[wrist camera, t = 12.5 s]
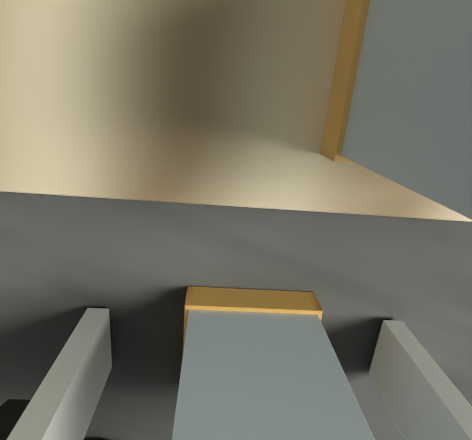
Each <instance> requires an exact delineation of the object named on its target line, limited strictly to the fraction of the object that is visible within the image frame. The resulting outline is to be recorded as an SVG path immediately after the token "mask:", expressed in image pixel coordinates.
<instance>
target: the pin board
mask: <svg viewBox="0 0 472 440" xmlns="http://www.w3.org/2000/svg"><path fill="white" fill-rule="evenodd" d="M345 2H346V0H0V191H6V192H22V193H37V194H53V195H68V196H84V197H99V198H115V199H130V200H146V201H161V202H177V203H192V204H208V205H224V206H239V207H255V208H270V209H286V210H301V211H317V212H332V213H348V214H363V215H379V216H394V217H410V218H425V219H441V220H456V221H472V220H471V219H469V218H467V217H465V216H463V215H461V214H459V213H457V212H455V211H453V210H451V209H449V208H447V207H445V206H443V205H441V204H439V203H437V202H435V201H432V200H430V199H428V198H426V197H424V196H422V195H420V194H418V193H416V192H414V191H412V190H410V189H408V188H406V187H404V186H402V185H400V184H398V183H396V182H394V181H391V180H389V179H387V178H385V177H383V176H381V175H379V174H377V173H375V172H373V171H371V170H369V169H367V168H365V167H363V166H361V165H359V164H357V163H346V162H334V161H332V160H330V159H329V158H327V157H325V156H323V155H321V154H320V151H321V145H322V140H323V134H324V128H325V122H326V116H327V110H328V104H329V98H330V92H331V86H332V80H333V74H334V68H335V62H336V56H337V50H338V44H339V38H340V32H341V26H342V20H343V14H344V8H345Z"/></svg>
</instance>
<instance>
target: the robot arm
mask: <svg viewBox="0 0 472 440" xmlns="http://www.w3.org/2000/svg"><path fill="white" fill-rule="evenodd" d="M111 369H112V358H111V338H110V319H109V309H105V308H87V310H86V312H85V313H84V315H83V316H82V318H81V320H80V321H79V323H78V325H77V326H76V328H75V329H74V331H73V333H72V334H71V336H70V338H69V339H68V341H67V342H66V344H65V346H64V347H63V349H62V351H61V352H60V354H59V355H58V357H57V359H56V360H55V362H54V364H53V365H52V367H51V368H50V370H49V372H48V373H47V375H46V376H45V378H44V380H43V381H42V383H41V385H40V386H39V388H38V389H37V391H36V393H35V394H34V396H33V398H32V399H31V400H18V399H9V400H8V401H6V402H5V403H4V404H3V405H2V406H0V440H84V438H85V435H86V432H87V430H88V427H89V425H90V422H91V420H92V417H93V415H94V412H95V409H96V407H97V404H98V402H99V399H100V397H101V394H102V392H103V389H104V387H105V384H106V381H107V379H108V376H109V374H110V371H111ZM368 375H369V377H370V379H371V381H372V383H373V385H374V386H375V388H376V390H377V392H378V394H379V396H380V398H381V400H382V401H383V403H384V405H385V407H386V409H387V411H388V413H389V414H390V416H391V418H392V420H393V422H394V424H395V426H396V428H397V429H398V431H399V433H400V435H401V437H402V439H403V440H472V406H471V405H470V404H469V403H468V401H467V400H466V399H465V398H464V397H463V395H462V394H461V393H460V392H459V390H458V389H457V388H456V387H455V385H454V384H453V383H452V382H451V381H450V379H449V378H448V377H447V376H446V374H445V373H444V372H443V371H442V370H441V368H440V367H439V366H438V365H437V363H436V362H435V361H434V360H433V358H432V357H431V356H430V355H429V354H428V352H427V351H426V350H425V349H424V347H423V346H422V345H421V344H420V342H419V341H418V340H417V339H416V338H415V336H414V335H413V334H412V333H411V331H410V330H409V329H408V328H407V326H406V325H405V324H404V323H403V322H402V321H394V320H383V323H382V327H381V330H380V334H379V337H378V341H377V345H376V348H375V352H374V356H373V359H372V363H371V367H370V370H369V374H368Z"/></svg>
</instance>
